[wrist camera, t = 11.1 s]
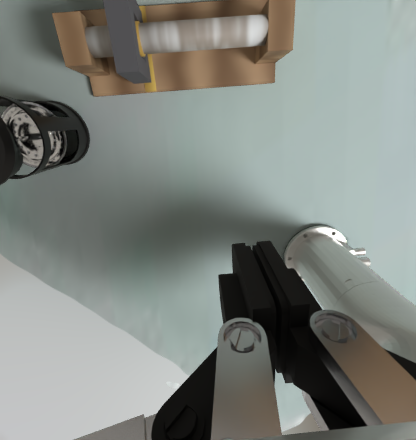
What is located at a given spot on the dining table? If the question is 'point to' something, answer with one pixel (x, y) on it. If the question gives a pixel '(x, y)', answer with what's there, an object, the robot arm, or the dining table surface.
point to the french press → (37, 136)
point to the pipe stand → (184, 45)
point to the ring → (126, 40)
